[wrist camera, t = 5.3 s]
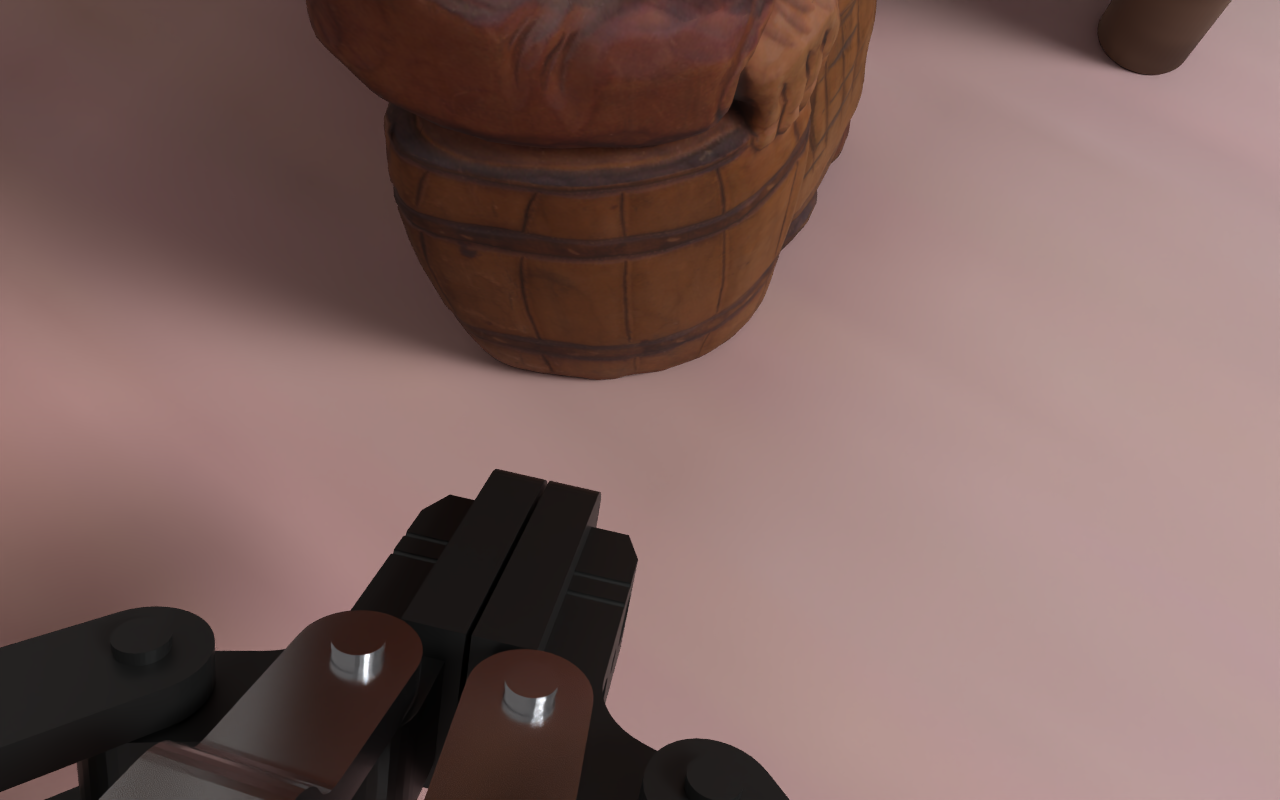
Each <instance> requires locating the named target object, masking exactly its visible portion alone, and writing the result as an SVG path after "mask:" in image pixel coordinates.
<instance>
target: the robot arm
mask: <svg viewBox="0 0 1280 800" xmlns="http://www.w3.org/2000/svg"><path fill="white" fill-rule="evenodd" d="M600 501H601V492H597V491H593V490H589V489H584V488H580V487H575V486H571V485H566V484H562V483H558V482H553V481H549V483H548V484H547V481H546V480H543V479H539V478H535V477H530V476H526V475H521V474H517V473H512V472H508V471H504V470H499V469H495V470H494V471H493V472H492V474H491V475H490V477H489V478H488V480H487V482H486V483H485V485H484V486H483V488H482V490H481V491H480V493H479V494H478V496H477V498H476V499H475V500H471V499H467V498H462V497H458V496H454V495H448V496H447V497H445V498H443V499H441V500H439V501H437V502H436V503H434V504H432V505H430V506H428V507H427V508H425V509H423V510H422V511H421V512H420V514H419V515H418V516H417V518H416V519H415V521H414V522H413V523H412V525H411V526H410V528H409V529H408V530H407V533H406V536H403V537H402V539H401V540H400V542H399V543H398V544H397V546H396V547H395V549H394V552H393V554H390V556H389V557H388V559H387V560H386V561H385V563H384V564H383V566H382V567H381V568H380V570H379V571H378V573H377V574H376V575H375V577H374V578H373V580H372V581H371V582H370V584H369V585H368V587H367V588H366V590H365V591H364V592H363V594H362V595H361V597H360V598H359V599H358V601H357V602H356V604H355V605H354V606H353V608H352V609H351V611H344V612H340V613H335V614H332V615H329V616H326V617H323V618H321V619H319V620H317V621H315V622H313V623H312V624H310V625H309V626H307V627H306V628H305V629H304V630H303V631H302V632H301V633H300V634H299V635H298V636H297V637H296V638H295V639H294V640H293V641H292V642H291V644H290V645H289V646H288V647H287V648H286V649H283V650H275V651H215V638H214V634H213V631H212V629H211V627H210V626H209V625H208V624H207V623H206V622H205V621H204V620H203V619H202V618H200V617H199V616H197V615H195V614H193V613H191V612H188V611H185V610H181V609H177V608H171V607H156V606H155V607H141V608H135V609H129V610H125V611H121V612H118V613H114V614H111V615H108V616H104V617H101V618H98V619H94V620H91V621H88V622H84V623H81V624H78V625H74V626H71V627H68V628H64V629H61V630H58V631H54V632H51V633H48V634H44V635H41V636H38V637H34V638H31V639H28V640H25V641H21V642H18V643H15V644H11V645H8V646H5V647H1V648H0V792H1V791H4V790H7V789H9V788H12V787H14V786H17V785H20V784H22V783H25V782H27V781H30V780H33V779H35V778H38V777H40V776H43V775H46V774H48V773H51V772H53V771H56V770H59V769H61V768H64V767H66V766H69V765H71V764H74V763H77V770H78V781H79V786H78V787H75V788H73V789H70V790H68V791H65V792H63V793H60V794H58V795H55V796H53V797H50V798H48V799H45V800H417V798H418V796H419V794H420V792H421V790H422V787H425V788H428V791H427V794H426V796H425V799H424V800H789V798H788V797H787V796H786V795H785V793H784V792H783V791H782V790H781V788H780V787H779V786H778V785H777V783H776V782H775V781H774V780H773V778H772V777H771V776H770V775H769V773H768V772H767V771H766V770H765V769H764V768H763V767H762V766H761V764H760V763H758V762H757V761H756V760H755V759H753V758H752V757H751V756H750V755H748V754H746V753H745V752H743V751H742V750H740V749H738V748H735V747H733V746H731V745H728V744H725V743H722V742H719V741H714V740H710V739H698V738H696V739H685V740H680V741H676V742H673V743H671V744H668V745H666V746H664V747H663V748H661V749H660V750H658V751H656V750H654V749H652V748H651V747H649V746H647V745H645V744H643V743H641V742H640V741H638V740H637V739H635V738H633V737H632V736H631V735H629V734H628V733H627V732H625V731H624V730H623V729H622V728H621V727H620V726H619V725H618V724H617V723H616V722H615V720H614V719H613V718H612V716H611V715H610V713H609V711H608V709H607V707H606V705H605V702H606V698H607V695H608V691H609V688H610V684H611V680H612V676H613V673H614V669H615V666H616V662H617V658H618V655H619V651H620V647H621V642H622V637H623V632H624V627H625V622H626V617H627V612H628V607H629V602H630V597H631V592H632V587H633V582H634V577H635V572H636V567H637V562H638V558H637V556H636V553H635V550H634V548H633V545H632V542H631V540H630V537H629V535H625V534H621V533H616V532H612V531H608V530H603V529H599V528H596V525H597V520H598V514H599V508H600Z"/></svg>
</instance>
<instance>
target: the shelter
mask: <svg viewBox="0 0 1280 800" xmlns="http://www.w3.org/2000/svg"><path fill="white" fill-rule="evenodd" d="M1230 2H1231V0H1112V1H1111V3H1110V4H1109V6H1108V8H1107V9H1106V11H1105V12H1104V14H1103V16H1102V17H1101V19H1100V22H1099V25H1098V38H1099V41H1100V44H1101V46H1102V48H1103V49H1104V51H1105V52H1106V53H1107V55H1108V56H1109V57H1110V58H1111V59H1112V60H1113V61H1115V62H1116V63H1117V64H1119V65H1121V66H1122V67H1124V68H1126V69H1128V70H1131V71H1134V72H1137V73H1141V74H1150V75H1155V74H1163V73H1167V72H1170V71H1172V70H1174V69H1176V68H1177V67H1179V66H1180V65H1181V64H1182V63H1183V62H1184V61H1185V60H1186V58H1187V57H1188V56H1189V54H1190V53H1191V52H1192V51H1193V49H1194V48H1195V47H1196V45H1197V44H1198V43H1199V42H1200V40H1201V39H1202V38H1203V36H1204V35H1205V34H1206V33H1207V31H1208V30H1209V29H1210V27H1211V26H1212V25H1213V24H1214V22H1215V21H1216V20H1217V18H1218V17H1219V16H1220V15H1221V13H1222V12H1223V11H1224V9H1225V8H1226V7H1227V6H1228V4H1229V3H1230Z"/></svg>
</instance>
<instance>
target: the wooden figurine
mask: <svg viewBox="0 0 1280 800" xmlns="http://www.w3.org/2000/svg"><path fill="white" fill-rule="evenodd" d="M876 2H877V0H306V5H307V10H308V14H309V18H310V22H311V25H312V28H313V30H314V32H315V35H316V37H317V38H318V39H319V41H320V42H321V43H322V44H323V45H324V46H325V47H326V48H327V49H328V50H329V51H330V52H331V53H332V54H333V55H334V56H335V57H336V58H337V59H338V60H340V61H341V62H342V63H343V64H344V65H345V66H346V67H347V68H348V69H349V70H350V71H351V72H352V73H353V74H354V75H355V76H356V77H357V78H358V79H359V80H361V81H362V82H363V83H364V84H365V85H366V86H367V87H368V88H369V89H370V90H371V91H373V92H374V93H375V94H377V95H378V96H379V97H381V98H383V99H385V100H386V101H388V102H389V105H388V108H387V111H386V113H385V116H384V130H385V137H386V150H387V160H388V170H389V175H390V180H391V182H392V183H393V186H394V197H395V200H396V203H397V205H398V210H399V213H400V216H401V218H402V221H403V224H404V226H405V229H406V232H407V235H408V238H409V240H410V242H411V245H412V247H413V249H414V251H415V253H416V255H417V257H418V260H419V262H420V264H421V265H422V267H423V269H424V271H425V272H426V274H427V276H428V277H429V279H430V280H431V282H432V284H433V286H434V287H435V289H436V290H437V292H438V294H439V295H440V297H441V299H442V300H443V302H444V304H445V305H446V306H447V307H448V309H450V310H451V311H452V312H453V314H454V315H455V317H456V318H457V319H458V321H459V322H460V323H461V325H462V326H463V327H464V329H465V330H466V331H467V332H468V333H469V334H470V336H471V337H472V338H473V339H474V340H475V341H476V342H477V343H478V344H479V345H480V346H481V347H482V348H483V349H484V350H485V351H486V352H487V353H489V354H490V355H491V356H493V357H494V358H496V359H497V360H499V361H501V362H503V363H505V364H508V365H510V366H513V367H517V368H521V369H526V370H531V371H536V372H542V373H550V374H558V375H566V376H575V377H584V378H588V379H596V380H601V379H615V378H619V377H623V376H626V375H632V374H640V373H648V372H657V371H662V370H666V369H668V368H671V367H674V366H677V365H680V364H683V363H685V362H688V361H691V360H693V359H696V358H699V357H701V356H703V355H705V354H707V353H709V352H710V351H712V350H713V349H715V348H717V347H718V346H719V345H721V344H723V343H724V342H726V341H727V340H729V339H730V338H731V337H732V336H734V335H735V334H736V333H737V332H738V331H739V330H740V329H741V328H742V327H743V326H744V325H745V324H746V323H747V322H748V321H749V319H750V318H751V317H752V315H753V314H754V312H755V311H756V309H757V308H758V307H759V305H760V304H761V302H762V300H763V298H764V296H765V294H766V291H767V289H768V286H769V283H770V281H771V278H772V275H773V271H774V267H775V265H776V263H777V260H778V257H779V254H780V251H781V250H782V249H783V248H784V247H785V246H786V245H787V244H788V243H789V242H790V241H791V240H792V239H793V238H794V237H795V236H796V235H797V233H798V232H799V231H800V230H801V229H802V228H803V227H804V226H805V224H806V223H807V221H808V220H809V217H810V215H811V213H812V211H813V209H814V206H815V204H816V201H817V188H818V187H819V185H820V183H821V181H822V179H823V177H824V175H825V174H826V172H827V170H828V168H829V166H830V164H831V163H832V162H833V161H834V160H835V159H836V158H837V157H838V156H839V155H840V153H841V151H842V148H843V146H844V143H845V140H846V138H847V136H848V133H849V127H850V119H851V118H852V116H853V114H854V112H855V110H856V108H857V105H858V102H859V99H860V96H861V93H862V87H863V82H864V74H865V63H866V56H867V51H868V45H869V41H870V37H871V34H872V30H873V25H874V21H875V13H876Z"/></svg>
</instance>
